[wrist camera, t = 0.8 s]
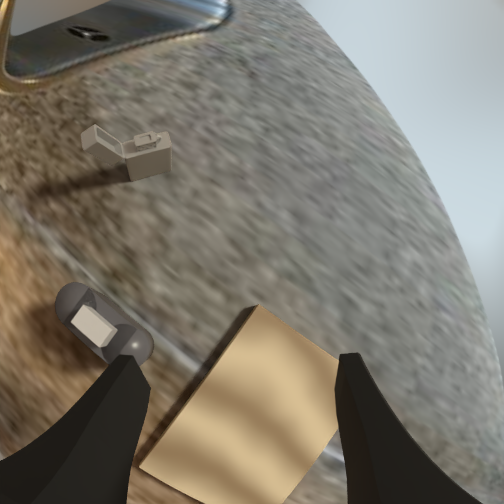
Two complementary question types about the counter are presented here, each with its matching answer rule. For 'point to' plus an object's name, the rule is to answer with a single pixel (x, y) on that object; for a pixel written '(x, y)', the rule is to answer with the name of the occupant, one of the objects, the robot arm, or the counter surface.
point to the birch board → (251, 418)
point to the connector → (102, 324)
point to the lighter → (131, 151)
